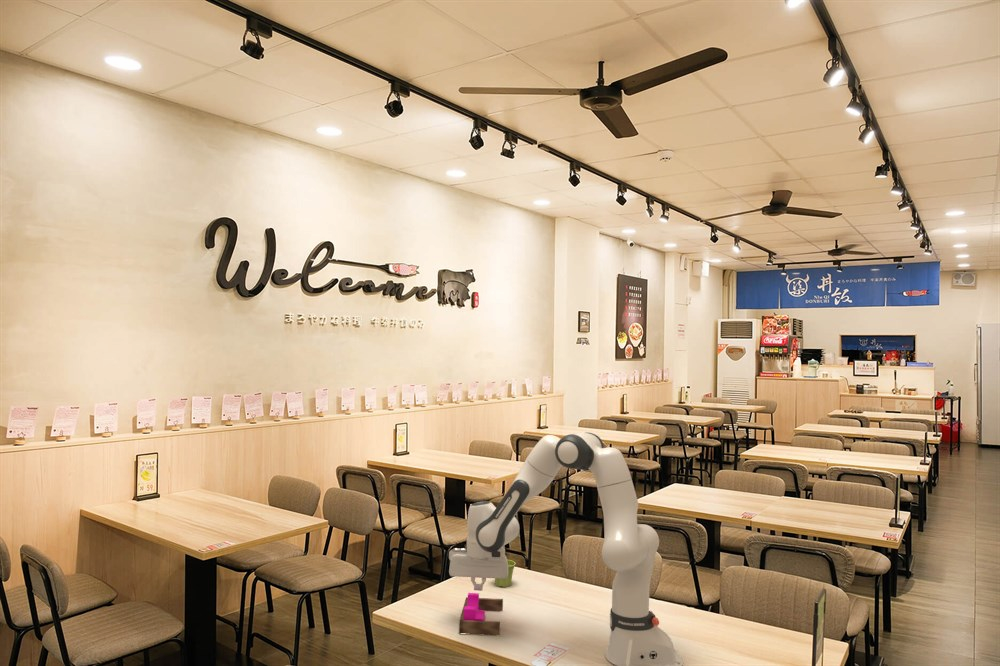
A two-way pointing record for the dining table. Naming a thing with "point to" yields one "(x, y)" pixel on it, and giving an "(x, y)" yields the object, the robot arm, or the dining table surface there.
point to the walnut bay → (482, 626)
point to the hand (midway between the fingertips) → (478, 589)
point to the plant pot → (507, 581)
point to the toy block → (473, 608)
